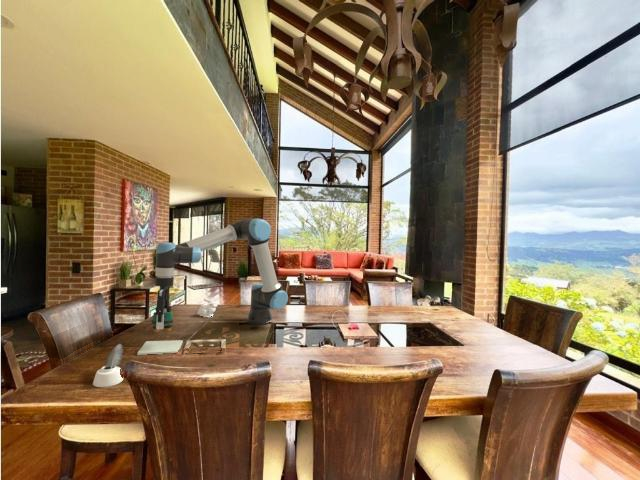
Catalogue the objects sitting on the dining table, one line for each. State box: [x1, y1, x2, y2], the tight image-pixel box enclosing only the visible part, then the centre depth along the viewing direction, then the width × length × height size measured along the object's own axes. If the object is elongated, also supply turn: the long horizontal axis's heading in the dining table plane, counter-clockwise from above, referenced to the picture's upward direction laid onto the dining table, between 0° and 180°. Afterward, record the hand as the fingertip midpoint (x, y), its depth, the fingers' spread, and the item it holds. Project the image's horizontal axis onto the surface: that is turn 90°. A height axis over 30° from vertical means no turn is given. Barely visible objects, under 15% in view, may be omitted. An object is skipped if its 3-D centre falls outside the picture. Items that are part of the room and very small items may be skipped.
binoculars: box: [150, 306, 174, 333], centre depth 150 cm, size 9×11×10 cm
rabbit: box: [197, 297, 218, 318], centre depth 207 cm, size 12×9×12 cm
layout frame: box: [183, 338, 227, 350], centre depth 155 cm, size 18×17×1 cm
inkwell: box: [92, 343, 124, 388], centre depth 121 cm, size 9×18×10 cm, turn 18°
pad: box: [136, 339, 184, 356], centre depth 150 cm, size 16×15×1 cm
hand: (162, 325), depth 150 cm, fingers closed on binoculars, 10 cm apart
